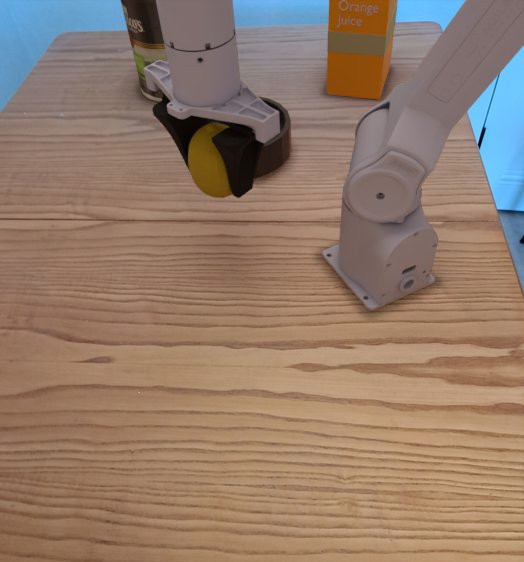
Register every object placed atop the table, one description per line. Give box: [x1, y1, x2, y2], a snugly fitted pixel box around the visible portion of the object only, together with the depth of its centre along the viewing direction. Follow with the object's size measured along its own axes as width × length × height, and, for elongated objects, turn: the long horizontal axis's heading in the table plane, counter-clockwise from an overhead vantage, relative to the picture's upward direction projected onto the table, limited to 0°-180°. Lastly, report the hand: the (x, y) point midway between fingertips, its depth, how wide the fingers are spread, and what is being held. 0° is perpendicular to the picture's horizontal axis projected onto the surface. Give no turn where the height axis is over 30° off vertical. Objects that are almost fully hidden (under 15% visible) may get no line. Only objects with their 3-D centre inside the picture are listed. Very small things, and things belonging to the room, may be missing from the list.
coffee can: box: [120, 0, 168, 103], centre depth 79 cm, size 10×10×14 cm
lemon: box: [188, 122, 233, 199], centre depth 54 cm, size 6×6×8 cm
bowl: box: [207, 95, 292, 180], centre depth 72 cm, size 12×12×4 cm
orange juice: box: [326, 0, 399, 100], centre depth 75 cm, size 8×9×20 cm
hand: (220, 179), depth 56 cm, fingers closed on lemon, 5 cm apart
